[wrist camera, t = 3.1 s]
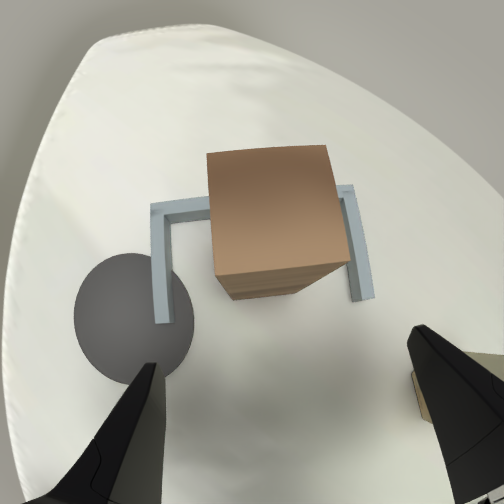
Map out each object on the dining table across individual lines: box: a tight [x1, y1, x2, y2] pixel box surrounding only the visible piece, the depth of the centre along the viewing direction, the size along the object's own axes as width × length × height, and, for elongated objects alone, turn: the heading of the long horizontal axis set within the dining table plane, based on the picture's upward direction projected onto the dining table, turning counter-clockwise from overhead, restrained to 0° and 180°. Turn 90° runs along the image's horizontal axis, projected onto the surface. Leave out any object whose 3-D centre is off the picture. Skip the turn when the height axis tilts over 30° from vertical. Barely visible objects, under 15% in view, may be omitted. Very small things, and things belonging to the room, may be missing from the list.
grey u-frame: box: [150, 185, 375, 324], centre depth 21 cm, size 8×15×2 cm, turn 96°
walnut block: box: [207, 145, 351, 300], centre depth 16 cm, size 4×4×12 cm
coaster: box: [74, 253, 194, 385], centre depth 20 cm, size 10×10×1 cm
